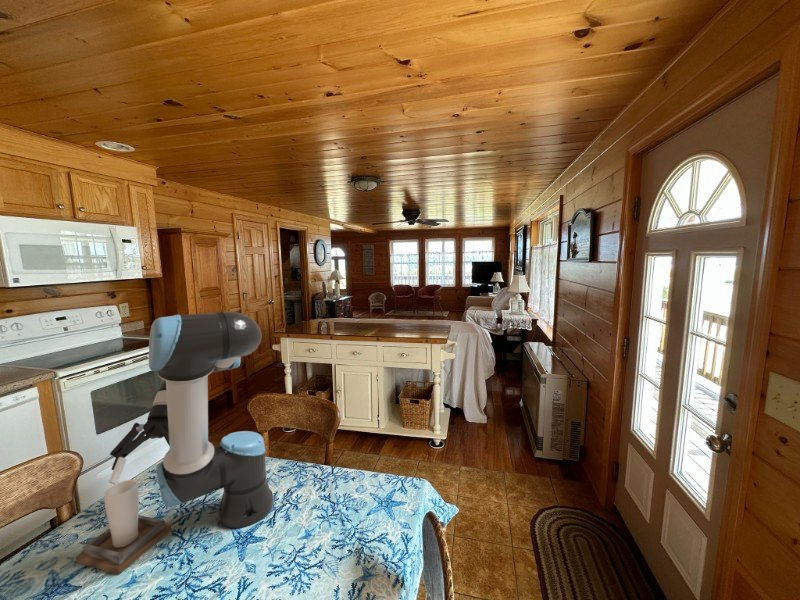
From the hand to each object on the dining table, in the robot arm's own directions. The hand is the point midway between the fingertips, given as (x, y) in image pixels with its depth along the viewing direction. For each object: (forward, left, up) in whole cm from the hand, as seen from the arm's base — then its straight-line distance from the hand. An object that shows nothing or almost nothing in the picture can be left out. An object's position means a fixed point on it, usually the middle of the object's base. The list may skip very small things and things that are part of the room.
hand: (139, 481), depth 94 cm
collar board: (-3, +6, -13) cm, 15 cm away
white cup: (-3, +7, -12) cm, 14 cm away
